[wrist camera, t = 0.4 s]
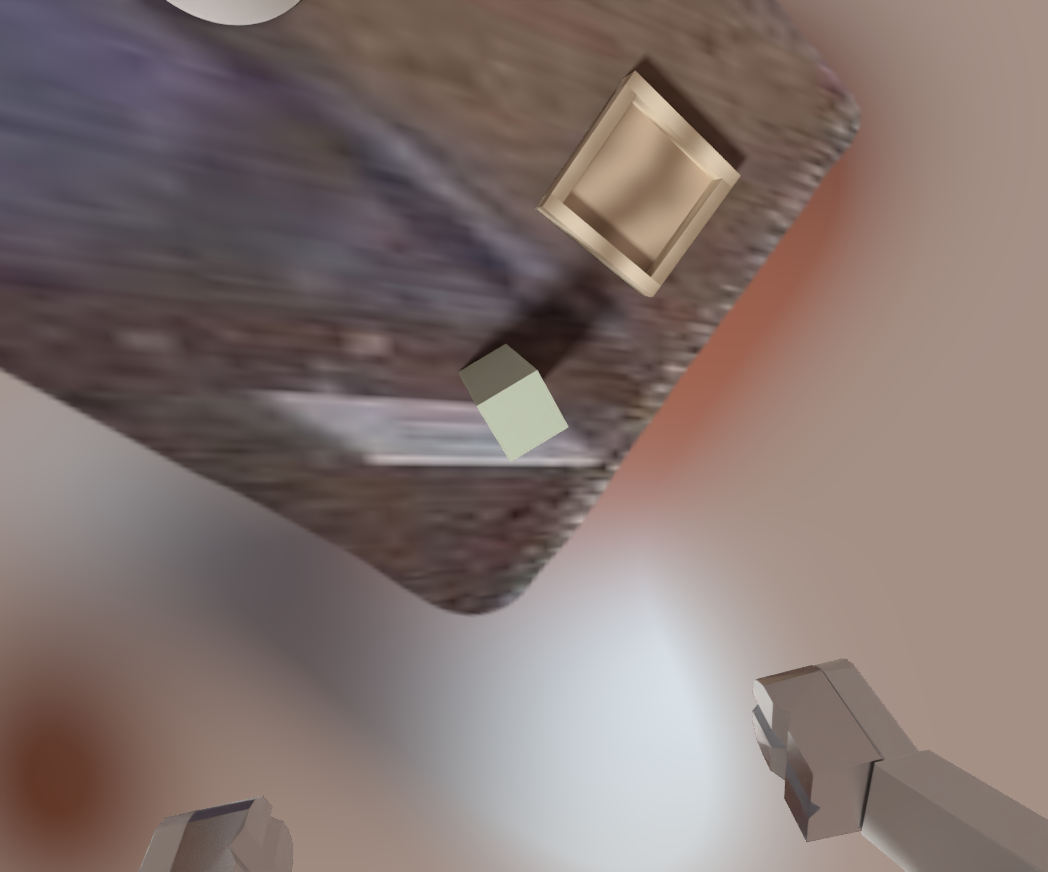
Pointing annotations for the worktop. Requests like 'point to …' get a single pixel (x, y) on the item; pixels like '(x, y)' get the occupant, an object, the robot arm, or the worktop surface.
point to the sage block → (513, 401)
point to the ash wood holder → (638, 186)
